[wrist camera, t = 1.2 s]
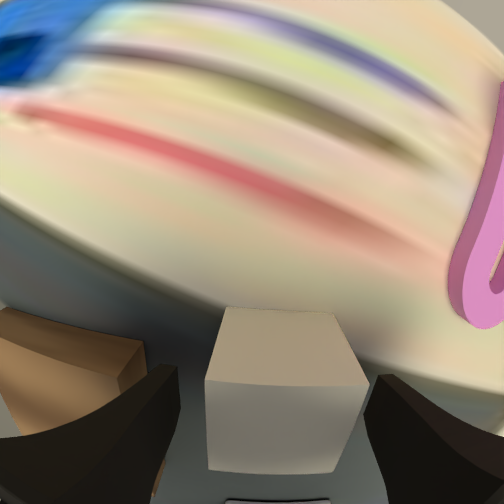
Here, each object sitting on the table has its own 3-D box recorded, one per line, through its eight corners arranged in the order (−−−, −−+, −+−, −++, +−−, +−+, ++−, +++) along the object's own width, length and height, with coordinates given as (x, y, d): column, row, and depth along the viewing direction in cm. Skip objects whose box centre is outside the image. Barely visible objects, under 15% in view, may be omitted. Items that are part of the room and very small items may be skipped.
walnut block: (165, 463, 14) (154, 497, 11) (47, 423, 14) (29, 446, 11) (143, 341, 12) (116, 377, 9) (6, 306, 12) (-25, 325, 9)
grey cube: (315, 392, 13) (332, 472, 8) (224, 388, 13) (208, 469, 8) (332, 312, 12) (369, 384, 7) (226, 305, 12) (204, 379, 7)
